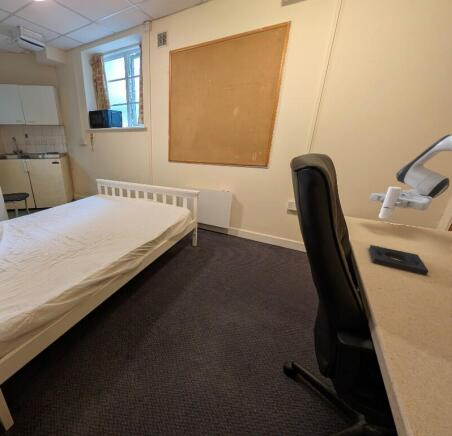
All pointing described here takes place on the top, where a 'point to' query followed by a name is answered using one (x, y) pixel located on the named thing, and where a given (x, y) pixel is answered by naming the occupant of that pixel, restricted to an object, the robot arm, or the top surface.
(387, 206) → the tube
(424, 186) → the robot arm
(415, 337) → the top surface
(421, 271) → the base pad
